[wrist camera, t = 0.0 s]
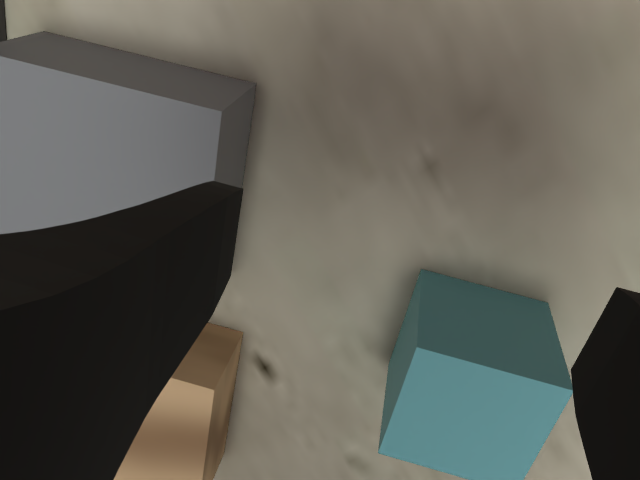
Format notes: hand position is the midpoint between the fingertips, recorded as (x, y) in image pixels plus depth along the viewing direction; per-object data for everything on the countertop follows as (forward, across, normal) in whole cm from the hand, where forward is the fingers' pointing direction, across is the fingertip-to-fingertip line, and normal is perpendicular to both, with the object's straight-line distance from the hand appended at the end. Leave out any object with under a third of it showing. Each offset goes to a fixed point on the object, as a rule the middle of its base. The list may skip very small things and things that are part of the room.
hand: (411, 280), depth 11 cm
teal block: (+10, -4, +8) cm, 14 cm away
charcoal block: (+10, +10, +4) cm, 15 cm away
